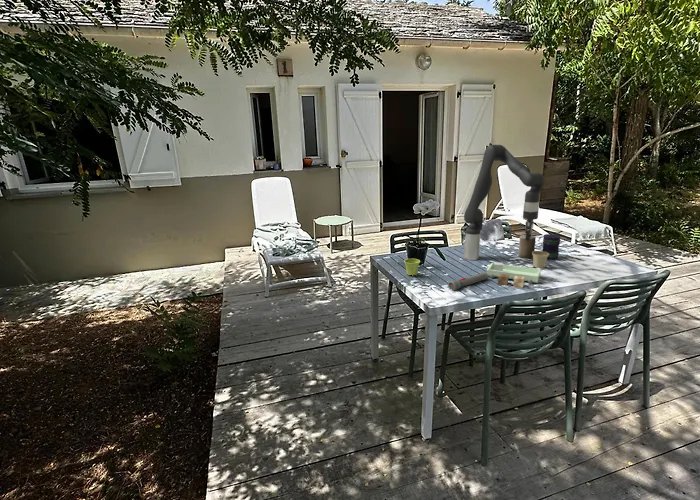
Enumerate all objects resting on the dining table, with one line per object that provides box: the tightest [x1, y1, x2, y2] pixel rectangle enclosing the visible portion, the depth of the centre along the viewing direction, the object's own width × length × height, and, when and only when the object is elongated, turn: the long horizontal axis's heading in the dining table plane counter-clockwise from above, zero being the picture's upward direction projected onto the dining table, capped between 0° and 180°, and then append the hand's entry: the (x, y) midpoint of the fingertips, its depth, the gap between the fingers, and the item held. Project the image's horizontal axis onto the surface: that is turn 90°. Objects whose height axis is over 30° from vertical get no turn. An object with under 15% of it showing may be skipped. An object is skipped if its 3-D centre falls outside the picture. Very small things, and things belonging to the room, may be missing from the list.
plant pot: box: [403, 258, 421, 277], centre depth 228 cm, size 9×9×9 cm
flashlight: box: [447, 271, 489, 291], centre depth 211 cm, size 5×28×5 cm, turn 122°
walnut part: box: [497, 274, 509, 287], centre depth 210 cm, size 4×4×5 cm
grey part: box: [494, 261, 504, 271], centre depth 224 cm, size 4×4×5 cm
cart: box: [485, 262, 542, 285], centre depth 220 cm, size 27×16×4 cm, turn 59°
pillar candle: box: [517, 234, 536, 259], centre depth 255 cm, size 10×10×15 cm
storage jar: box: [541, 233, 561, 261], centre depth 251 cm, size 10×10×15 cm
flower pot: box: [532, 250, 549, 269], centre depth 236 cm, size 9×9×9 cm
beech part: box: [513, 276, 525, 289], centre depth 206 cm, size 4×4×5 cm
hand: (528, 238), depth 216 cm, fingers open, 8 cm apart
